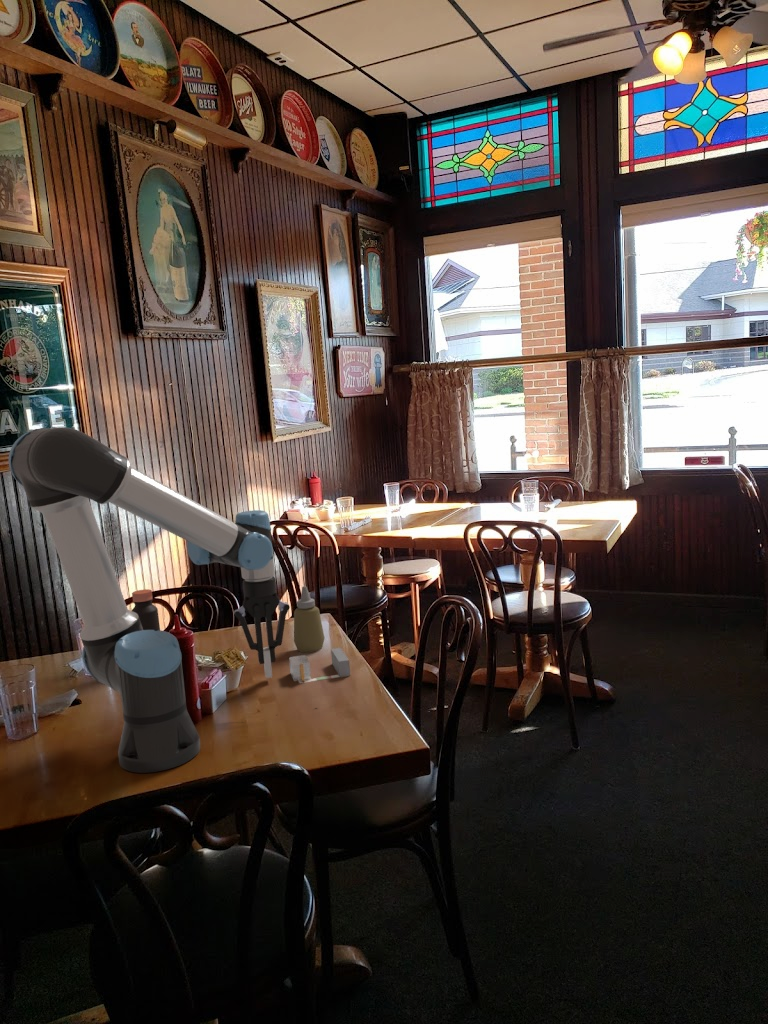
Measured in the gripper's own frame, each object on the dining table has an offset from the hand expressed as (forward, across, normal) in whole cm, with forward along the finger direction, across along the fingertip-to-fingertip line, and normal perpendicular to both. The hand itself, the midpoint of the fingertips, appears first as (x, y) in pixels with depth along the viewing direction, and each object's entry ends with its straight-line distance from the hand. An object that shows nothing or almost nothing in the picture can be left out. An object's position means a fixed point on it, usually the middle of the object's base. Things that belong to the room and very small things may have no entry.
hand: (268, 675), depth 178 cm
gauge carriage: (+1, -7, 0) cm, 8 cm away
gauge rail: (+3, -11, 0) cm, 11 cm away
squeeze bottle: (+3, -13, -20) cm, 24 cm away
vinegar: (+3, +28, -30) cm, 41 cm away
